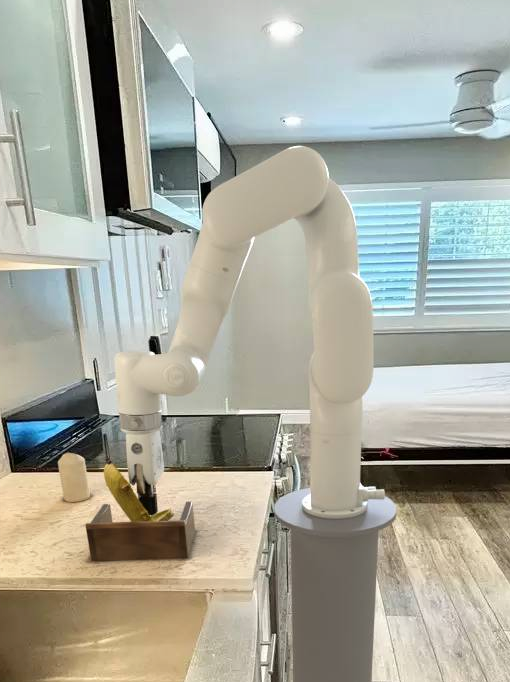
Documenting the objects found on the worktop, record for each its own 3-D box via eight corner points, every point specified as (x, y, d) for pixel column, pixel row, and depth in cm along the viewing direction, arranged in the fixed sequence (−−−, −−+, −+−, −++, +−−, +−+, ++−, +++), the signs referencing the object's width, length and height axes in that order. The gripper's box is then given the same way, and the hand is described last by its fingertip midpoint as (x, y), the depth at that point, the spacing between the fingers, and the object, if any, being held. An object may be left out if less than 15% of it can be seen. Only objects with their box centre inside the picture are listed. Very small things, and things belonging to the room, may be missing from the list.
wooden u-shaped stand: (195, 531, 107) (192, 497, 104) (187, 558, 97) (184, 521, 94) (107, 533, 107) (102, 500, 104) (91, 561, 97) (85, 524, 94)
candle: (95, 495, 126) (89, 452, 123) (76, 503, 122) (68, 459, 118) (78, 491, 129) (71, 449, 125) (58, 499, 125) (50, 455, 121)
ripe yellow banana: (109, 544, 103) (95, 465, 97) (118, 526, 110) (106, 451, 105) (173, 540, 103) (163, 461, 97) (178, 522, 110) (169, 448, 105)
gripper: (153, 431, 97) (161, 529, 104) (168, 412, 111) (174, 500, 118) (109, 431, 97) (120, 529, 104) (130, 412, 111) (138, 499, 118)
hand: (148, 513), depth 111 cm, fingers closed
